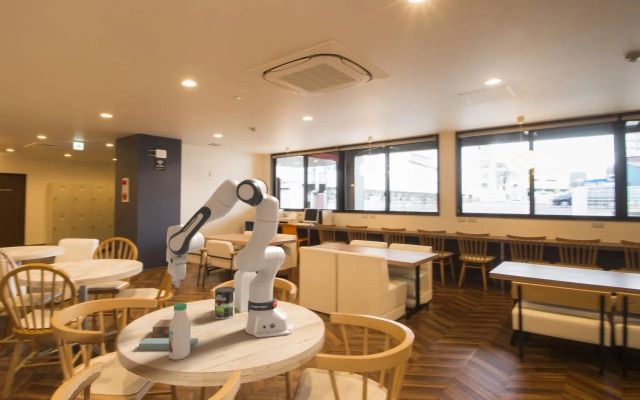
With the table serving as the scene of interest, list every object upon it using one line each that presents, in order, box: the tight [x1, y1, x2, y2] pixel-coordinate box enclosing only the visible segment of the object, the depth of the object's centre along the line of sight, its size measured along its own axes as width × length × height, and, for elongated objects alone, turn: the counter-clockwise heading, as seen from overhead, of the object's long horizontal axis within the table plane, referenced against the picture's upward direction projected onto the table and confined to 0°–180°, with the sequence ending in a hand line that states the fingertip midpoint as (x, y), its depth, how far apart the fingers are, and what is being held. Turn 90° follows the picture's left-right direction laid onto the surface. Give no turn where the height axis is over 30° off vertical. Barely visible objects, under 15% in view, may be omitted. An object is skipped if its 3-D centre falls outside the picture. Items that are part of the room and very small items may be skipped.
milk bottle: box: [168, 302, 191, 361], centre depth 126 cm, size 8×8×20 cm
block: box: [152, 318, 172, 338], centre depth 146 cm, size 9×9×5 cm
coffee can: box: [214, 286, 235, 320], centre depth 170 cm, size 10×10×14 cm
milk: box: [233, 269, 258, 313], centre depth 183 cm, size 12×12×26 cm
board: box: [138, 337, 199, 351], centre depth 133 cm, size 22×5×3 cm, turn 92°
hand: (175, 285), depth 156 cm, fingers open, 5 cm apart
